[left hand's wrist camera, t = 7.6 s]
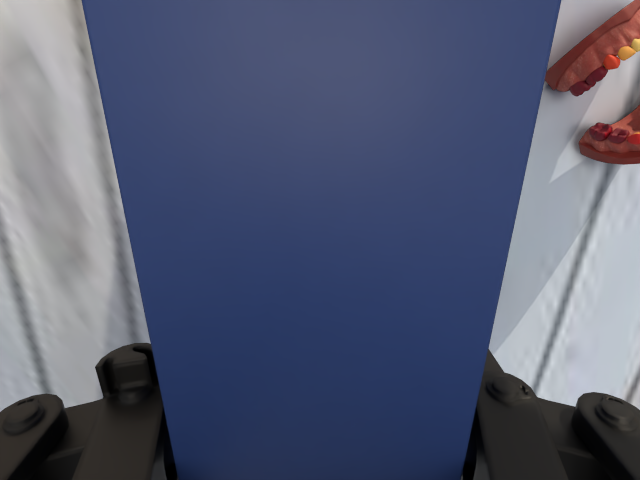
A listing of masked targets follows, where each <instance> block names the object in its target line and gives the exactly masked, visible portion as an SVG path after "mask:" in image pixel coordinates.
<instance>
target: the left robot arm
mask: <svg viewBox="0 0 640 480" xmlns="http://www.w3.org/2000/svg"><path fill="white" fill-rule="evenodd" d="M95 368H96V372H97V375H98V379H99V382H100V386H101V390H102V393H103V399H100V400H97V401H94V402H90V403H86V404H81V405H77V406H73V407H69V408H64V405H63V402H62V400H61V399H60V398H59V397H58V396H57V395H52V394H41V395H34V396H31V397H28V398H25V399H22V400H19V401H18V402H16V403H14V404H12V405H10V406H8V407H7V408H5V409H4V410H2V411H1V412H0V480H178V476H177V471H176V466H175V461H174V456H173V451H172V446H171V441H170V436H169V431H168V426H167V421H166V416H165V411H164V406H163V401H162V396H161V391H160V386H159V381H158V376H157V371H156V366H155V362H154V357H153V352H152V347H151V344H149V343H134V344H130V345H126V346H122V347H120V348H118V349H116V350H114V351H112V352H110V353H109V354H107V355H106V356H105V357H103V358H102V359H101V360H100V361H99V363H98V364H97V365H96V367H95ZM461 480H640V410H639V409H638V408H636V407H635V406H633V405H631V404H629V403H628V402H626V401H624V400H622V399H620V398H617V397H614V396H611V395H608V394H603V393H596V392H591V393H585V394H583V395H582V396H581V397H579V398H578V401H577V404H576V407H574V406H569V405H565V404H561V403H557V402H552V401H548V400H544V399H541V398H538V397H537V396H536V395H535V393H534V392H533V390H532V389H531V387H529V386H528V385H527V384H526V383H525V382H523V381H522V380H521V379H519V378H517V377H515V376H513V375H511V374H508V373H504V371H503V370H502V368H501V367H500V365H499V364H498V362H497V361H496V359H495V358H494V356H493V355H492V353H491V352H490V350H489V349H488V352H487V357H486V362H485V366H484V371H483V376H482V381H481V386H480V390H479V395H478V400H477V405H476V409H475V414H474V419H473V424H472V428H471V433H470V438H469V443H468V448H467V452H466V457H465V462H464V467H463V471H462V476H461Z"/></svg>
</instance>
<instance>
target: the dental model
mask: <svg viewBox="0 0 640 480" xmlns="http://www.w3.org/2000/svg"><path fill="white" fill-rule="evenodd" d="M635 51H636V52H638V51H640V0H634V1H633V2H632V3H630V4H629V5H627V6H626V7H625V8H623V9H622V10H621V11H619V12H618V13H617V14H615V15H614V16H613V17H611V18H610V19H609V20H607V21H606V22H605V23H604V24H602V25H601V26H600V27H599V28H597V29H596V30H595V31H593V32H592V33H591V34H590V35H588V36H587V37H586V38H585V39H583V40H582V41H581V42H580V43H579V44H577V45H576V46H575V47H574V48H573V49H571V50H570V51H569V52H568V53H567V54H566V55H564V56H563V57H562V58H561V59H560V60H559V61H558V62H556V63H555V64H554V65H553V66H552V67H551V68H550V69H549V70H548V71H547V72H546V75H545V81H546V82H547V83H548V84H549V86H550V87H551V88H552V89H553V90H555V89H557V90H558V91H562V92H566V91H569V90H570V92H571V93H572V94H573V95H574V96H579V95H582V94H583V92H584V91H588V90H589V89H590V88H591V87H593V86H594V85H595V84H596V82H598V81H600V80H602V79H603V77H605V76H606V74H607V72H608V70H610V69H615V68H618V67H619V65H620V59H621V60H626V59H628V58H630V57H631V56H632V55H634V54H635V53H636V52H635ZM617 55H618V57H619V58H620V59H619V58H618V57H616V56H617ZM579 148H580V152H581V154H582V155H584V156H587V157H589V158H591V159H594V160H597V161H601V162H605V163H612V164H639V163H640V105H639V106H638V107H637V108H636V109H635V110H634V111H633V112H632V113H630V114H629V115H628V116H626V117H625V118H623V119H622V120H620V121H618V122H617V123H614V124H612V125H609V124H603V123H596V124H595V125H594V126H592V127H590V128H589V129H588V130H587V131H586V133H585V134H584V135H583V137H582V138H581V140H580V141H579Z"/></svg>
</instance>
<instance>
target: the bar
mask: <svg viewBox="0 0 640 480" xmlns="http://www.w3.org/2000/svg"><path fill="white" fill-rule="evenodd" d="M560 4H561V0H82V5H83V10H84V15H85V20H86V24H87V29H88V34H89V39H90V44H91V49H92V54H93V59H94V64H95V69H96V74H97V79H98V84H99V89H100V94H101V99H102V104H103V109H104V114H105V119H106V124H107V129H108V134H109V138H110V143H111V148H112V153H113V158H114V163H115V168H116V173H117V178H118V183H119V188H120V193H121V198H122V203H123V208H124V213H125V218H126V223H127V228H128V233H129V238H130V243H131V248H132V252H133V257H134V262H135V267H136V272H137V277H138V282H139V287H140V292H141V297H142V302H143V307H144V312H145V317H146V322H147V327H148V332H149V337H150V342H151V347H152V352H153V357H154V362H155V366H156V371H157V376H158V381H159V386H160V391H161V396H162V401H163V406H164V411H165V416H166V421H167V426H168V431H169V436H170V441H171V446H172V451H173V456H174V461H175V466H176V471H177V476H178V480H461V476H462V471H463V467H464V462H465V457H466V452H467V448H468V443H469V438H470V433H471V428H472V424H473V419H474V414H475V409H476V405H477V400H478V395H479V390H480V386H481V381H482V376H483V371H484V366H485V362H486V357H487V352H488V347H489V343H490V338H491V333H492V328H493V324H494V319H495V314H496V309H497V304H498V300H499V295H500V290H501V285H502V281H503V276H504V271H505V266H506V261H507V257H508V252H509V247H510V242H511V238H512V233H513V228H514V223H515V219H516V214H517V209H518V204H519V199H520V195H521V190H522V185H523V180H524V176H525V171H526V166H527V161H528V157H529V152H530V147H531V142H532V137H533V133H534V128H535V123H536V118H537V114H538V109H539V104H540V99H541V94H542V90H543V85H544V80H545V75H546V71H547V66H548V61H549V56H550V52H551V47H552V42H553V37H554V32H555V28H556V23H557V18H558V13H559V9H560Z"/></svg>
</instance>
